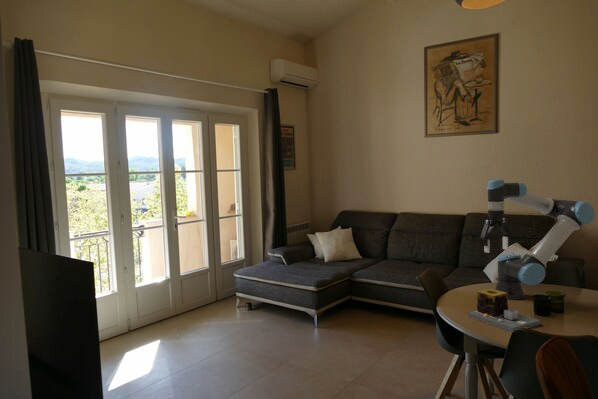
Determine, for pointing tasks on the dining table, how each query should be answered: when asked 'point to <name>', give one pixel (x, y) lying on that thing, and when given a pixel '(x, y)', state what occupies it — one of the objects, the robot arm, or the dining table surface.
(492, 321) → the breaker panel
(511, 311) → the breaker slider
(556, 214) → the robot arm
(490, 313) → the brown and yellow box
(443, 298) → the dining table surface
